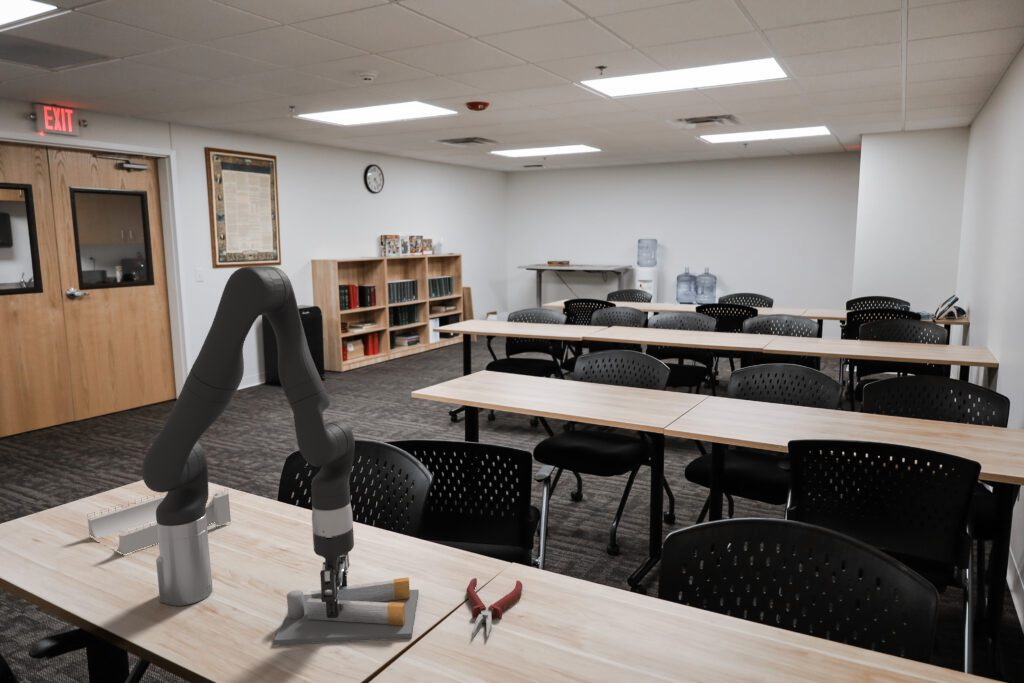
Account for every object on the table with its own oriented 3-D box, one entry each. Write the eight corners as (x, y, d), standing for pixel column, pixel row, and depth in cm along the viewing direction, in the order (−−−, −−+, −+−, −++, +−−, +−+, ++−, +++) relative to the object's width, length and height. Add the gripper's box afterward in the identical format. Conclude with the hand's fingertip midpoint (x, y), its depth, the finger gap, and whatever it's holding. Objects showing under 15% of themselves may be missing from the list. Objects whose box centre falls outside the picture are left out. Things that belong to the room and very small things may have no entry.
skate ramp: (185, 507, 191) (182, 473, 189) (231, 525, 178) (228, 489, 176) (90, 539, 171) (85, 501, 169) (133, 562, 158) (129, 522, 156)
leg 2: (307, 619, 129) (306, 601, 128) (310, 615, 130) (309, 597, 130) (403, 625, 126) (402, 606, 126) (405, 621, 128) (404, 602, 127)
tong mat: (274, 645, 123) (272, 617, 122) (297, 599, 139) (295, 574, 138) (411, 638, 124) (410, 610, 124) (418, 593, 140) (417, 569, 139)
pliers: (449, 641, 124) (448, 628, 124) (470, 586, 144) (470, 575, 143) (510, 645, 122) (510, 632, 122) (523, 589, 142) (523, 578, 142)
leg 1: (312, 612, 132) (311, 594, 131) (312, 608, 133) (311, 590, 133) (409, 598, 136) (409, 580, 136) (409, 594, 138) (408, 577, 137)
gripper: (321, 512, 136) (326, 587, 138) (303, 543, 122) (309, 626, 124) (358, 510, 136) (362, 585, 138) (345, 541, 122) (350, 624, 124)
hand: (337, 605), depth 131 cm, fingers open, 8 cm apart
